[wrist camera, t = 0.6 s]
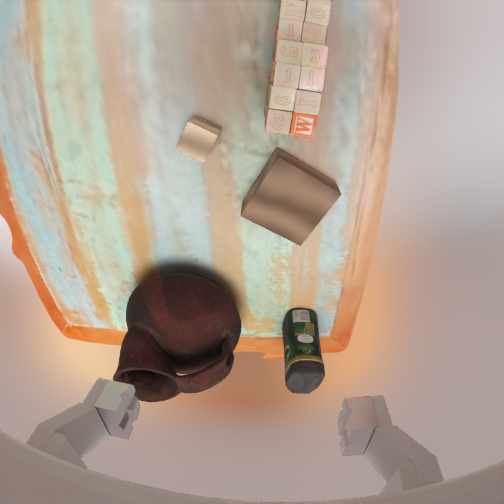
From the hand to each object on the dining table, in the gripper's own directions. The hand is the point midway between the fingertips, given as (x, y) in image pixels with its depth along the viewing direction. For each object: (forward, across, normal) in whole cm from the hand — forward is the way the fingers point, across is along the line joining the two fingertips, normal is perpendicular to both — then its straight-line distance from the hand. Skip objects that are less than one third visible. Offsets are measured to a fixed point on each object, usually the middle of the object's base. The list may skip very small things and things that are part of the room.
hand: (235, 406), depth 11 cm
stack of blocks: (+42, -4, -22) cm, 48 cm away
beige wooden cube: (+45, +11, -9) cm, 47 cm away
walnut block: (+48, -4, +1) cm, 48 cm away
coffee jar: (+57, -8, +34) cm, 67 cm away
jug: (+54, +18, +27) cm, 63 cm away
